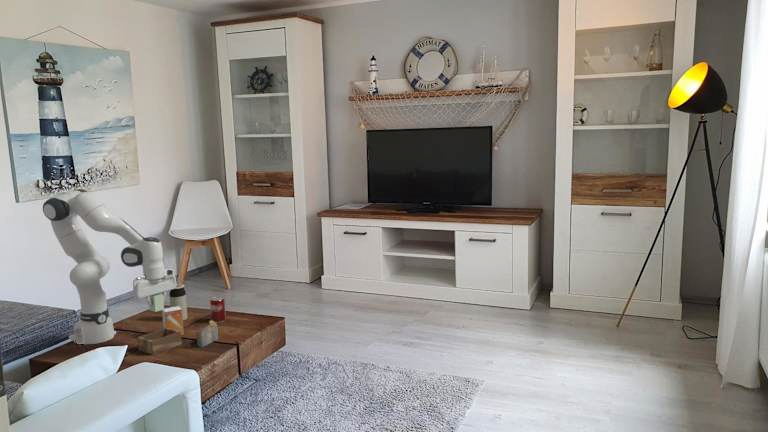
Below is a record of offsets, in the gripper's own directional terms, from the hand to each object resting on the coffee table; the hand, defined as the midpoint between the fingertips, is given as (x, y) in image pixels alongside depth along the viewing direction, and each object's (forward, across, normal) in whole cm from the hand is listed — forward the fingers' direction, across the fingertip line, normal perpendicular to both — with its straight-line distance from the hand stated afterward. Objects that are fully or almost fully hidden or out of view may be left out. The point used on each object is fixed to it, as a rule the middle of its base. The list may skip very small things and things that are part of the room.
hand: (156, 303), depth 265 cm
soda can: (+21, +39, +6) cm, 44 cm away
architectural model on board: (+22, +15, -15) cm, 30 cm away
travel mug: (+21, +30, +26) cm, 44 cm away
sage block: (+3, 0, 0) cm, 3 cm away
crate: (+21, 0, 0) cm, 21 cm away
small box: (+21, +14, +8) cm, 26 cm away
